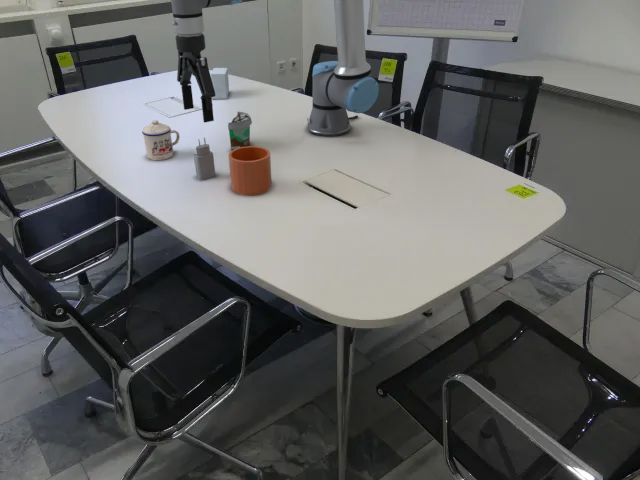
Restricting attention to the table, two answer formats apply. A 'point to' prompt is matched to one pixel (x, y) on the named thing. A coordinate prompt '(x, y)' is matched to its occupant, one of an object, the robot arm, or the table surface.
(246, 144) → the food container
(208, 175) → the power adapter
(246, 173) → the orange flower pot
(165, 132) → the teacup with lid
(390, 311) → the table surface
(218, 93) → the cosmetics box
